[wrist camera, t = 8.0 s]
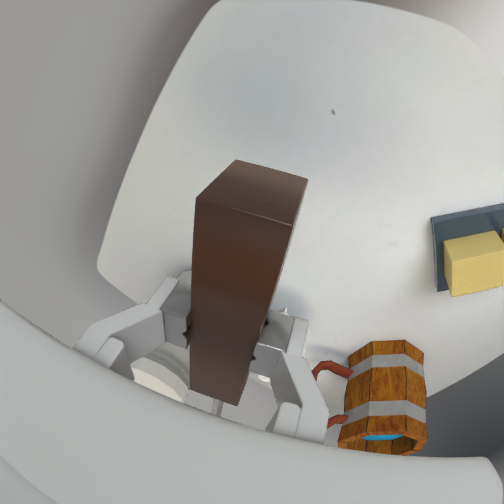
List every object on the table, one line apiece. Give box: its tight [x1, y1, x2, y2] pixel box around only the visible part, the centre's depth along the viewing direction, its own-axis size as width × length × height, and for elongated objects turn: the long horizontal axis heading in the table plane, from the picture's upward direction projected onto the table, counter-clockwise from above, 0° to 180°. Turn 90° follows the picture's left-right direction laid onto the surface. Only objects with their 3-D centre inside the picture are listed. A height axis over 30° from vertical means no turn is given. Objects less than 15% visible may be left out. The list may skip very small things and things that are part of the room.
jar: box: [130, 271, 191, 403], centre depth 38 cm, size 10×10×18 cm
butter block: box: [443, 230, 504, 297], centre depth 27 cm, size 5×7×4 cm
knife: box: [189, 160, 308, 417], centre depth 15 cm, size 21×2×3 cm, turn 170°
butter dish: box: [431, 203, 504, 292], centre depth 28 cm, size 10×16×1 cm, turn 113°
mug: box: [311, 340, 428, 456], centre depth 39 cm, size 20×14×15 cm
